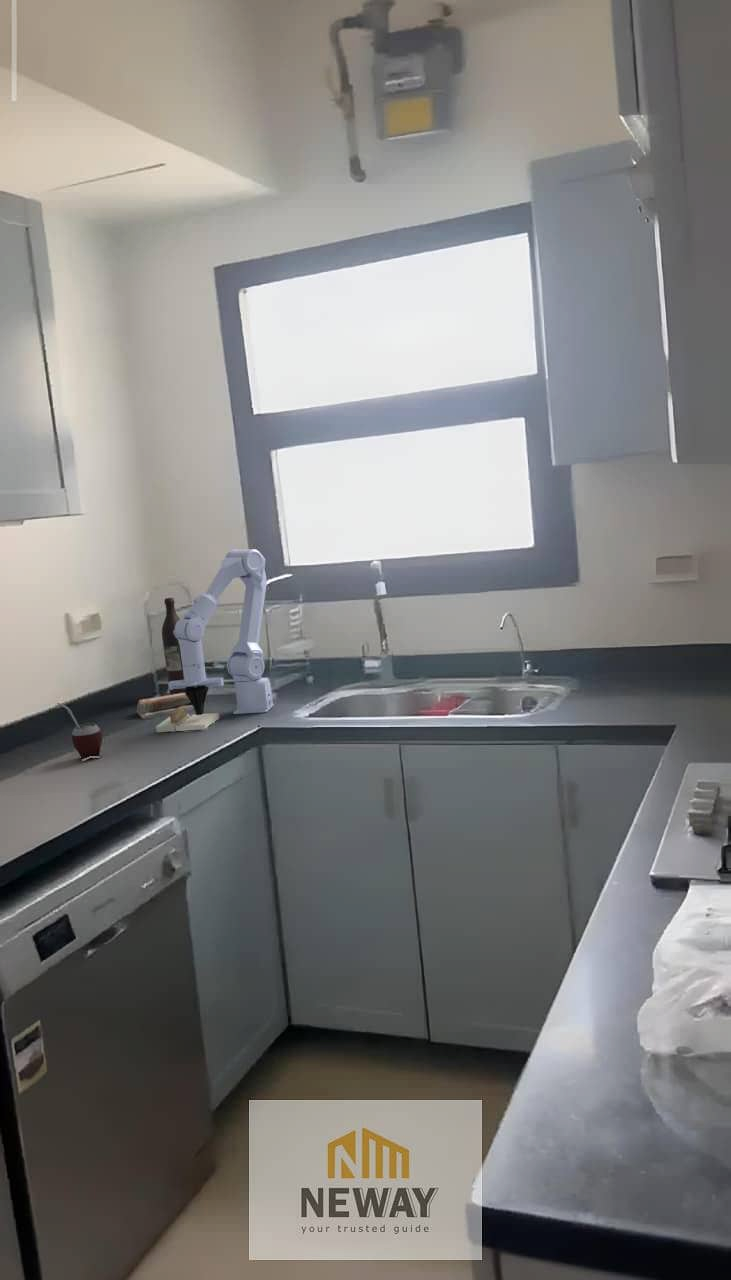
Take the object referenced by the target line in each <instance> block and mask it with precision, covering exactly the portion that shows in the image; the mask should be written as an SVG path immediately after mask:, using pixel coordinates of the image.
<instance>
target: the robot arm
mask: <svg viewBox="0 0 731 1280" xmlns="http://www.w3.org/2000/svg"><path fill="white" fill-rule="evenodd" d="M265 565H266V558H265V557H264V556H263V554H262V553H261V552H260V551H259V550H258V549H253V548H252V549H231V550H228V552H227V554H226V555H225V557H224V558H223V559H222V560H221V566H220V568H219V570H218V572H217V573H216V575H215V577H214V578H213V580H212V581H211V583H210V585H209V586H208V589H207V591H206V592H205V593H203V594H199V595H198V596H196V597H194V599H193V603H192V605H191V606H190V607H189V609H188V611H187V612H185V613H184V614H183V615H184V617H183V618H181V619H180V620H179V621H178V622H177V623H176V625H175V630H174V631H173V633H174V636H175V637H176V638H177V639H178V641H179V645H180V651H181V659H182V666H183V673H184V680H178V681H170V682H169V683H168V682H167V685H168V691H169V690H173V689H181V688H186V691H185V694H186V696H187V697H188V698H189V700H190V701H191V703H192V705H193V707H194V710H193V711H194V712H195V714H196V715H202V714H205V713H204V712H205V711H204V709H205V708H204V703H205V702H206V698H207V695H208V692H209V689H210V688H211V687H223V686H224V685H225V683H224V682H225V681H224V677H207V672H206V667H205V665H206V664H205V659H204V657H205V656H204V651H203V649H204V648H203V643H202V642H203V641H202V638H203V637H205V636H204V635H205V633H206V626H207V623H208V622H209V620H210V619H211V617H212V616H213V614H214V613H215V611H216V609H217V608H218V604H217V601H218V599H219V598H220V596H222V594H223V593H224V592H225V590H226V589H227V588H228V586H229V585H230V584H231V582H232V581H233V580H234V579H238V578H239V579H240V580H241V582H242V583H243V584H244V585H245V590H244V599H243V606H242V612H241V620H240V628H239V633H238V634H239V635H238V642H237V643H236V644H235V645H234V646H233V647H232V648H231V653H230V656H229V658H228V660H227V662H226V663H227V664H226V668H227V671H228V673H229V674H230V675H231V676H232V679H233V683H234V688H235V689H234V691H235V696H236V697H235V698H236V705H237V709H236V710H235V711H233V714H234V715H242V714H243V715H244V714H260V713H261V714H262V713H267V712H268V711H270V709H272V707H274V705H275V704H274V699H273V692H272V685H271V680H270V679H269V677H262V676H263V674H264V671H265V666H266V665H265V661H264V651H263V650H262V648H261V647H260V646H259V642H260V635H261V628H262V622H263V621H262V620H263V614H264V613H263V612H264V605H265V597H266V591H267V583H268V580H267V576H266V575H267V574H266V571H265V570H266V569H265V567H266V566H265ZM205 704H206V703H205Z"/></svg>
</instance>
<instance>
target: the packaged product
mask: <svg viewBox="0 0 731 1280" xmlns="http://www.w3.org/2000/svg"><path fill="white" fill-rule="evenodd" d="M180 706H185V707H186V712H190V711H195V710H194V707H193V705H192V703H191V701H190V700H189V698H188V697H187V696H186V694H185V693H179V694H173V695H170V694H168V695H161V696H156V697H150V698H149V697H148V698H144V699H139V700H138V703H137V706H136V708H137V710H136V711H135V712H136V714H137V715H138V716H139V717H140V718H141V719H143V720H147V719H150V718H157V717H162V716H167V715H168V716H169V715H170V713H171V712H173V711H174V710H175V709H177V708H178V707H180ZM205 708H206V703H204V709H205Z"/></svg>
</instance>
